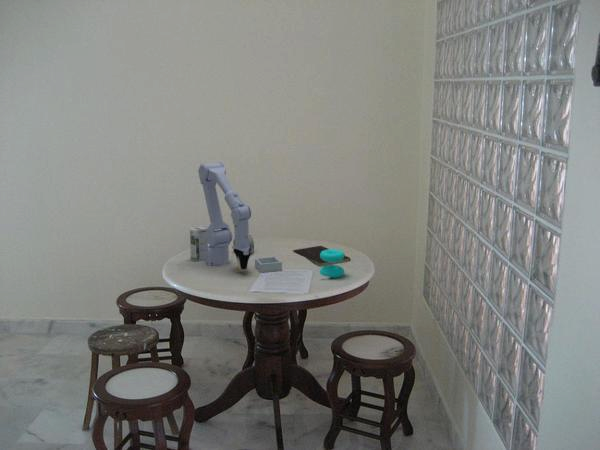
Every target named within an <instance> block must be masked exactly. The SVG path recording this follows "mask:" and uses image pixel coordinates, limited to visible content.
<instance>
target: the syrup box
mask: <svg viewBox="0 0 600 450" xmlns="http://www.w3.org/2000/svg"><path fill="white" fill-rule="evenodd" d="M206 230H207V228H205V227H201V226H195V227H194V226H193V227H191V228H189V242H190V244H189V245H190V246H189V247H190V261H193V262H195V261H196V263H197V262H205V261H206V247H208V245H209V244H208V242H207V232H206Z"/></svg>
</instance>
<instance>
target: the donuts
mask: <svg viewBox="0 0 600 450" xmlns="http://www.w3.org/2000/svg"><path fill="white" fill-rule="evenodd" d="M344 256H346V255H345V253H344V252H343V250H341V249H340V250H339V249H334V248H333V249H331V248H328V250H324V251H322V252H321V253H320V257H321V259H322V260H324V261H327V262H338V261H341V260H342V259H343V258H344ZM319 274H321V275H322V276H328V278H330V279H339V278H341V277H343V276H344V274H345V270H344V268H343V267H342V266H340V265H336V264H330V265H324V266H321V268H320V269H319Z"/></svg>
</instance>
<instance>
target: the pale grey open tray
mask: <svg viewBox="0 0 600 450" xmlns="http://www.w3.org/2000/svg"><path fill="white" fill-rule="evenodd" d="M254 267H255V268H256V269H257V271H259V272H260V273H269V272H279V271H282V270H283V262H282V261H281V260H280V259H279V258H278V257H277V256H268V257H267V256H266V257H260V258H259V257H257V258H254Z"/></svg>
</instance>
